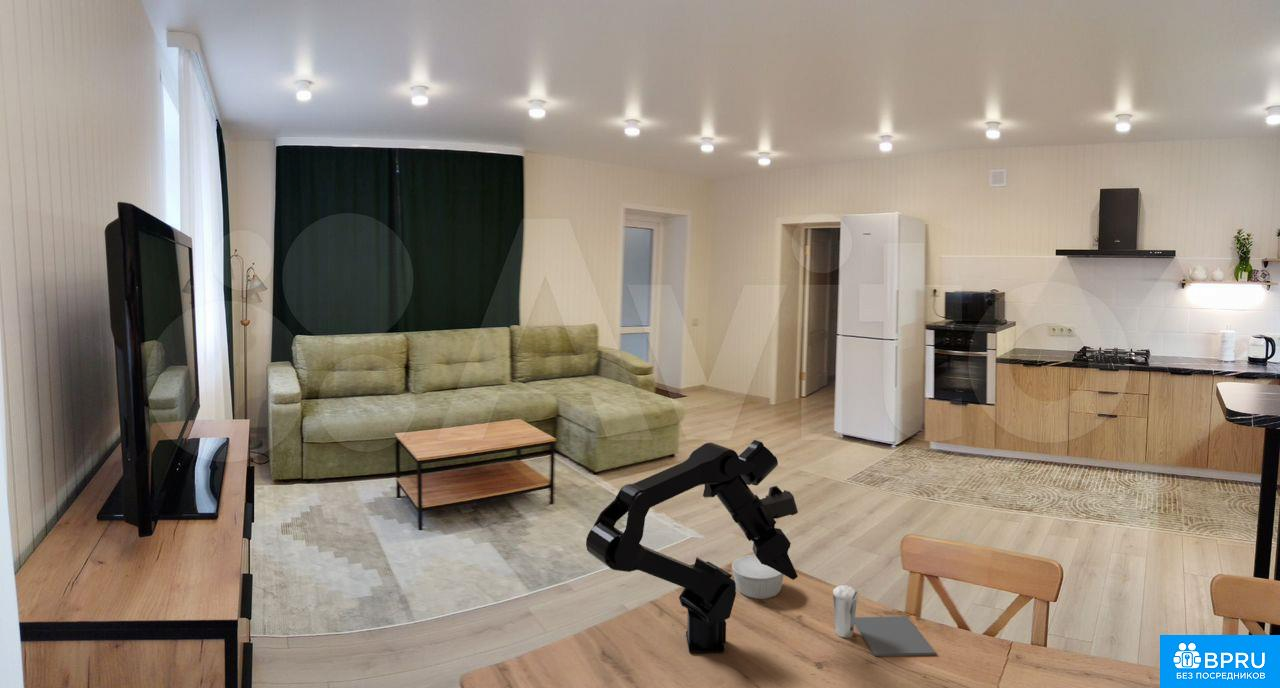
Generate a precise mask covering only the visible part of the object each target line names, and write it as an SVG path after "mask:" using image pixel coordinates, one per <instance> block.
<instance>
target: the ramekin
mask: <svg viewBox="0 0 1280 688" xmlns="http://www.w3.org/2000/svg"><path fill="white" fill-rule="evenodd" d="M731 571H732V573H733V578H734V579H733V580H734V581H735V583H736V585H735V586H736V590H738V591H739V593H740V594H742V595H743V596H746V597H748V598H751V599H755V600H756V599H758V600H765V599H767V600H768V599H770V598H773V597H776V595H778V594H779V593H780V591H781V589H782V585H783V580H784V576H785V575H784V574H782V573H780V572H778V571H776V570H775V569H773V568H771V567H769V566H767V565H764V564H761V562H760V561H759V560H758V558H757V557H756V555H755V554H750V555H749V554H747V555H743V556H740V557H738V558H736V559H735V560H734V561H733V562H732V564H731Z"/></svg>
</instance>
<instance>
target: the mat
mask: <svg viewBox="0 0 1280 688" xmlns="http://www.w3.org/2000/svg"><path fill="white" fill-rule="evenodd" d="M854 627H856V629H857V630H858V633H860V635H861V637H862V638H863V640H864V642H865V643H866V645H867V646H868V647H869V649H870V651H871V653H872V654H873V656H874V657H900V656H901V657H906V656H910V657H911V656H936V651H935V650H934V649H933V647H932V646H931V645H930V644H929V642H928V641H927V640H926V638H925V637H924V636H923V635H922V633H921V632H920V631H919V629H918V628H917V627H916V626H915V624H914V623H913V622H912V621H911V619H910V618H909V617H908V616H866V617H865V616H861V617H860V616H855V620H854Z"/></svg>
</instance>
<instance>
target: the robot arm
mask: <svg viewBox="0 0 1280 688" xmlns="http://www.w3.org/2000/svg"><path fill="white" fill-rule="evenodd" d="M778 465H779V461H778V459H777V456H776V455H774V454H773V452H771V450H770V449H768V448H767V447H766V446H765V445H764V442H762V441H760V440H756V439H754V440H753V441H751V443H750V444H749V445H748V447H746V449H744V450H743V451H742V452H741V453H740V454H738V453H737V451H735V450H734V449H731V448H728V447H726V446H722V445H719V444H717V443H713V442H706V443H704V444H702V445H701V446H699V447H697V448H696V449H694V450H693V451H692V452H691V453H690V454H689V456H688V458H687V459H686V460H684V461H683V462H681V463H678V464H676V465H673V466H671V467H669V468H666V469H664V470H662V471H659V472H658V473H655V474H653V475H651V476H648V477H645V478H644V479H641V480H639V481H637V482H634V483H629V484H625V485H623V486H622V487H620V489H619V491H618V493H617V494H616V497H615V499H613V501H611V503H610V504H609V505H607V506H606V507H605V508H604V509H602V511H601V512H600V513H599V515H598V517H597V519H596V521H595V522H594V524H593V526H592V528H591V529H590V531H589V532H588V533H587V536H586V540H585V542H586V543H585V545H586V551H587V553H589V554H590V555H592V556H593V557H594V558H596V559H597V560H599V562H602V564H604V565H605V566H606V567H608V568H609V569H611V570H613V571H616V572H617V571H619V572H626V573H630V572H631V573H632V572H634V571H639V572H642V573H645V574H647V575H650V576H653V577H655V578H659V579H661V580H664V581H666V582H668V583H670V584H674V585H677V586H680V587H681V588H684V589H683V590H682V592H681V593H680V595H679V596H678V599H679V600H678V601H679V603H680V605H681V606H682V607H683V608H686V609H687V619H686V621H687V625H686V626H687V630H686V632H685V636H686V641H687V642H686V644H687V648H688V649H687V650H688V653H690V654H701V653H702V654H703V653H704V654H705V653H706V654H707V653H711V654H713V653H725V646H724V645H725V644H726V642H727V622H726V620H729V619H730V618H731V614H732V610H733V606H734V603H735V599H736V596H737V591H736V590H737V587H736V583H735V579H732V577H733V575H732V574H731V573H729V572H728V571H726V570H724V569H723V568H721V567H719V566H717V565H715V564H714V563H712V562H710V561H705V560H703V559H702V558H700V557H698V556H697V557H696V558H695V561H694V563H693V564H688V563H686V562H683V561H681V560H678V559H676V558H673V557H671V556H669V555H666V554H663V553H661V552H659V551H657V550H654V549H651V548H649V547H647V546H644V545H642V544H641V541H642V539H643V537H644V529H645V521H646V516H647V515H648V512H649V510H650V508H652V507H655V506H657V505H659V504H662V503H664V502H667V501H668V500H671V499H673V498H674V497H677V496H679V495H682V494H683V493H686V492H687V491H690V490H691V489H692V490H693V488H696V487H698V486H702V485H704V489H703V494H702V497H703V498H704V499H705V498H715V497H717V498H718V500H719V501H720V502H721V504H722V505H723V506H724V508H725V509H726V510H727V512H728V513H729V514H730V515H731V516H730V517H731V518H732V520H733V521H734V523H735V524H737V525H738V527H739V528H740V529H741V530H742V532H743V533H744V535H745V537H746V538H747V540H748V542H751V541H752V542H753V544H752V552H753V553H754V555H756V557H757V558H758V560H759V561H760V562H761V564H764V565H767V566H769V567H771V568H773V569H775V570H776V571H778V572H780V573H782V574H784V576H785V577H787V578H789V579H791V580H796V579H798V574H797V571H796V569H795V567H794V565H793V563H792V560H791V557H790V556H789V554H788V553H789V549H790V548H791V544H792V543H791V542H790V540H789V539H788V537H787V536H786V534H785V533H784V531H782V529H781V528H778V527H777V528H776V527H775V526H776V524H777V521H776V520H775V519H780V518H783V517H786V516H794V515H797V514H798V513H799V511H798V507H797V504H796V500H795V496H794V495H793V493H791V491H789V490H786V489H784V490H783V491H782V490H781V489H780V488H779V487H778V485H773V486H771V487H769V489H768V493H767V495H765V497H763V498H759V496H758V495H757V494H755V493H754V492H753V491H752V489H751V488H750V487H749V486H751V485H752V486H758V485H760V484H761V482H763V481H764V480H765V479H766V478H767V477H768V476H769V475H770V473H772V472H773V470H775V469H776V468H777V467H778ZM626 514H627V518H626V524H625V525H626V526H625V529H624V530H623V531H622V530H620V529H618V528H617V527H615V525H616V523H617V522H618V521H619V520H620V519H621V518H622V517H623V516H625V515H626Z"/></svg>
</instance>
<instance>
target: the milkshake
mask: <svg viewBox="0 0 1280 688" xmlns="http://www.w3.org/2000/svg"><path fill="white" fill-rule="evenodd" d="M832 597H833V600H832V601H833V608H834V633H835V634H836V635H837V636H838V637H841V638H844V639H848V638H849V639H850V638H851V637H853V636H854V627H855V624H854V620H855V617H856V611H857V605H858V600H859V594H858V591H857V590H856V589H854V588H853V587H851V586H850V585H845V584H842V585H837V586H836V587H835V588H834V589H833V590H832Z"/></svg>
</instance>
